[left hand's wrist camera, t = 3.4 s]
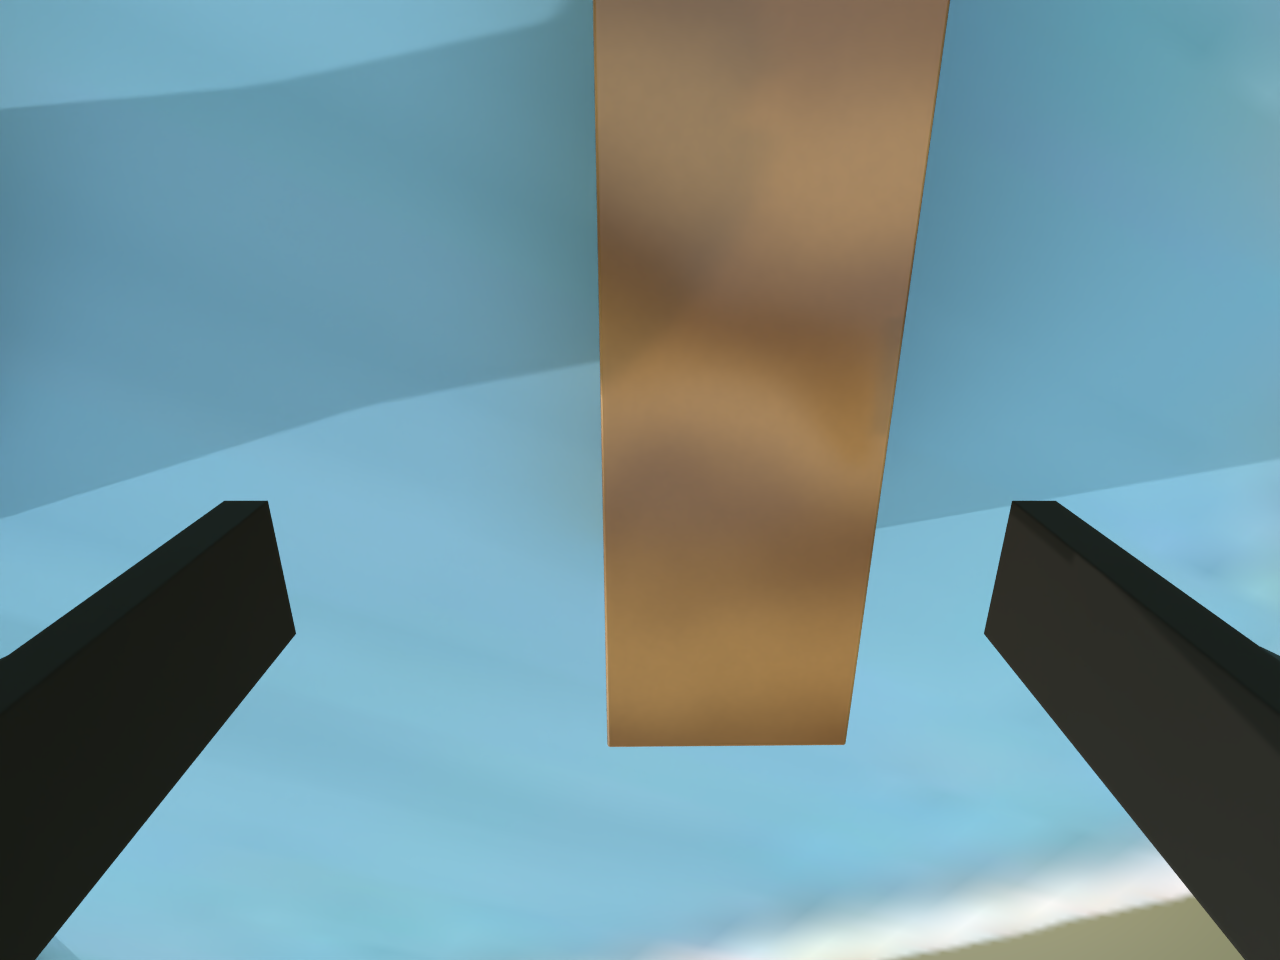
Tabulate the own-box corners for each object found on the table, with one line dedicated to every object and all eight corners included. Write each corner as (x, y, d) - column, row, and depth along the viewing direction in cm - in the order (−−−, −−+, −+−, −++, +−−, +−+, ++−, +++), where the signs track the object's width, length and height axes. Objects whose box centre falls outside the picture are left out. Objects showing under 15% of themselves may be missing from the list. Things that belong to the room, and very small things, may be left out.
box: (767, 548, 31) (845, 745, 20) (615, 549, 31) (607, 747, 20) (824, -172, 22) (1031, -567, 11) (606, -174, 22) (580, -574, 10)
